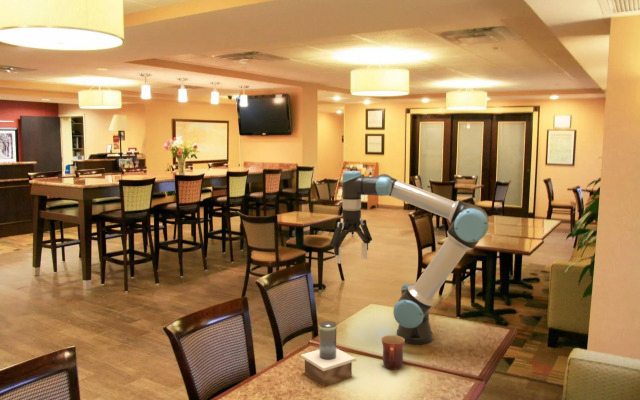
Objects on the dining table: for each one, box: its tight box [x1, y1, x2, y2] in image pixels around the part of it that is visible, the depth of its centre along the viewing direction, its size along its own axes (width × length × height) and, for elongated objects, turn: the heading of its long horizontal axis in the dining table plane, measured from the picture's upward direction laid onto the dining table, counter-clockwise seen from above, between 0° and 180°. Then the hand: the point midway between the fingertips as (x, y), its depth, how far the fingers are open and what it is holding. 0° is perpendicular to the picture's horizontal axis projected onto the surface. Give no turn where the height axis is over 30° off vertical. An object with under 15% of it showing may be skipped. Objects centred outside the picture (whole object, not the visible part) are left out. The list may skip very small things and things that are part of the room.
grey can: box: [318, 320, 338, 360], centre depth 183 cm, size 6×6×12 cm
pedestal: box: [300, 347, 357, 387], centre depth 184 cm, size 14×14×7 cm
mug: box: [380, 334, 405, 370], centre depth 190 cm, size 12×9×10 cm
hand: (351, 260), depth 211 cm, fingers open, 13 cm apart
